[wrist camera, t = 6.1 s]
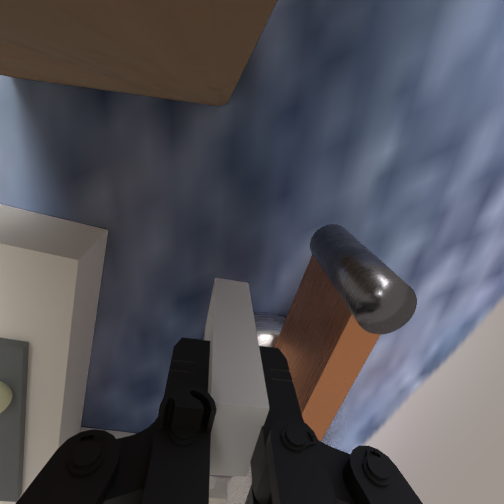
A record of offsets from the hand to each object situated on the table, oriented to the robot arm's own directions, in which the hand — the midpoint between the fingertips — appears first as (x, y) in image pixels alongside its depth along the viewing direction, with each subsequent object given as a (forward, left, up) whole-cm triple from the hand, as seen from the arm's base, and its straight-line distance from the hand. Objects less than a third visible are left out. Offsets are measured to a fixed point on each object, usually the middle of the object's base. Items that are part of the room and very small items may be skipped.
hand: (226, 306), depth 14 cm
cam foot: (+5, +4, -5) cm, 8 cm away
